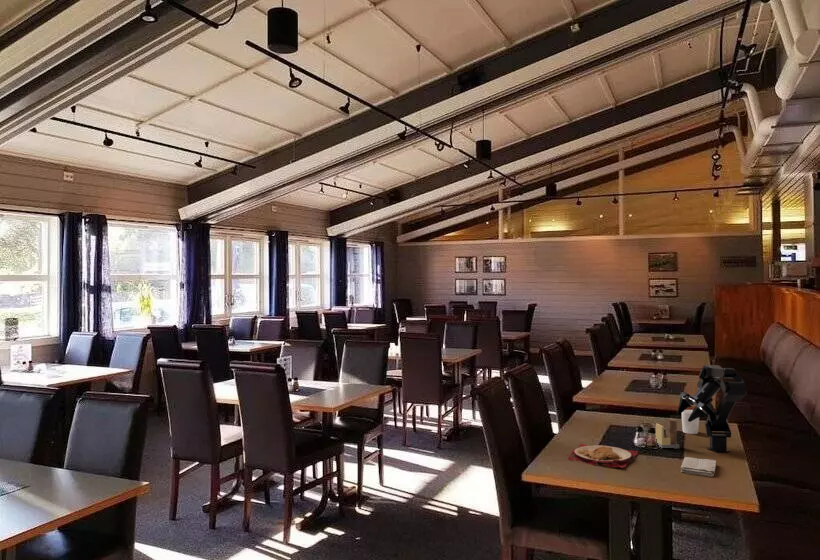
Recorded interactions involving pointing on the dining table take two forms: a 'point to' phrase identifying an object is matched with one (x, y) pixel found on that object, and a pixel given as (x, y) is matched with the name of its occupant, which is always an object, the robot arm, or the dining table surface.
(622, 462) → the plate with food
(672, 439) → the block
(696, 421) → the white cup
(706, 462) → the washcloth
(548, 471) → the dining table surface
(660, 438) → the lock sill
